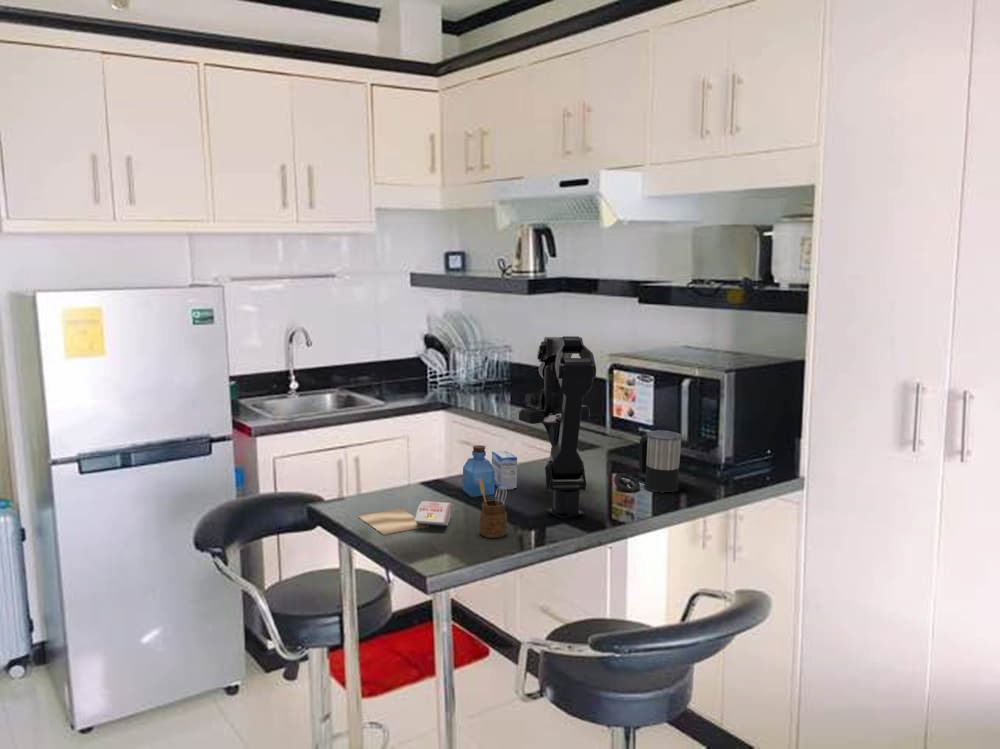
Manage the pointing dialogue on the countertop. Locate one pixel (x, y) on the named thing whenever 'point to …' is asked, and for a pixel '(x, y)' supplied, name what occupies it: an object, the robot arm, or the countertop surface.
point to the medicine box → (504, 469)
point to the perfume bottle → (478, 473)
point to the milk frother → (656, 463)
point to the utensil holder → (492, 516)
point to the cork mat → (392, 521)
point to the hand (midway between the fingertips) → (553, 446)
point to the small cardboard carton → (433, 513)
